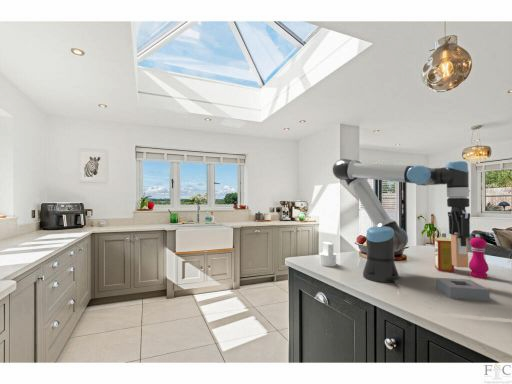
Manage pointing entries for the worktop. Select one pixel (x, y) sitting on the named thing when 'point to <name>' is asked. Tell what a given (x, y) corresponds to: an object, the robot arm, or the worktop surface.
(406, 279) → the worktop surface
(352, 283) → the worktop surface
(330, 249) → the cylinder with rectangular tab
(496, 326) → the worktop surface
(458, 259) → the plug
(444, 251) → the baking soda box
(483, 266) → the pepper mill
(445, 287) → the grey square socket block
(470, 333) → the worktop surface
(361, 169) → the robot arm
